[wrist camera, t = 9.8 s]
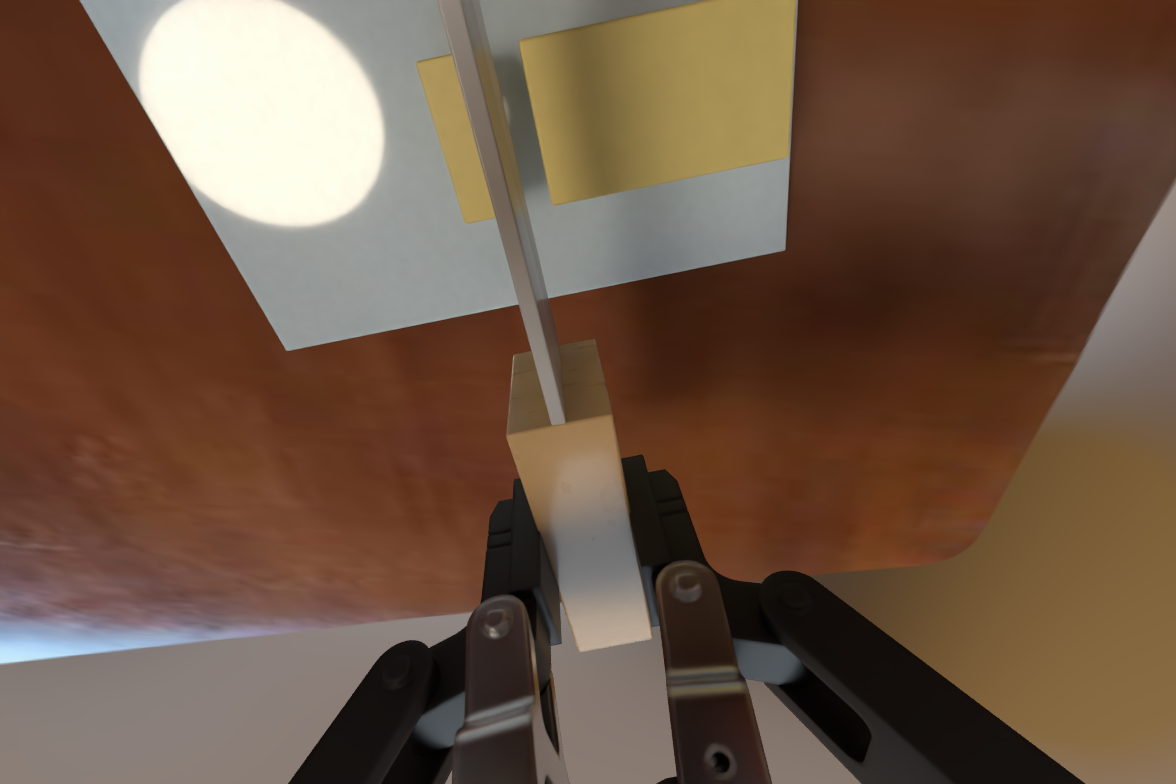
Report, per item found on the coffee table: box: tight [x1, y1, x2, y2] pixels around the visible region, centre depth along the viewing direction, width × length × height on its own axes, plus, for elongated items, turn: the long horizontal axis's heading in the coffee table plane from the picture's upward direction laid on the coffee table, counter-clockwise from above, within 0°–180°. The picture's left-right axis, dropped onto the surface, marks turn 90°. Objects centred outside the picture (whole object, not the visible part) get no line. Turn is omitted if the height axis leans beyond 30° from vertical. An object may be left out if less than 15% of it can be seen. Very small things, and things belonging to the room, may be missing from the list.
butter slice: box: [416, 54, 496, 224], centre depth 14 cm, size 4×1×3 cm, turn 10°
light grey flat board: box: [80, 0, 798, 351], centre depth 16 cm, size 12×20×1 cm, turn 100°
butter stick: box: [519, 0, 796, 206], centre depth 14 cm, size 4×7×3 cm, turn 100°
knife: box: [437, 0, 653, 652], centre depth 11 cm, size 17×2×4 cm, turn 10°
